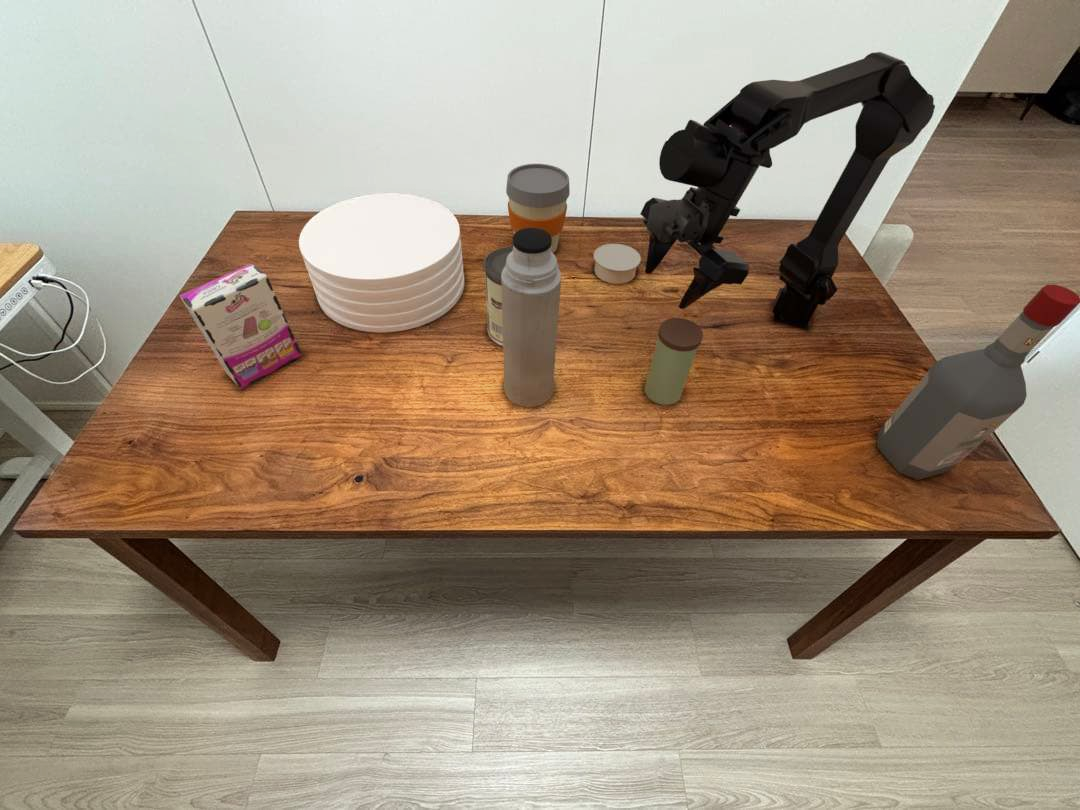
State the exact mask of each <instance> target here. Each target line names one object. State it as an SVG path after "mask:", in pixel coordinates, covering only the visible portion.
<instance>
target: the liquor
mask: <svg viewBox="0 0 1080 810" xmlns="http://www.w3.org/2000/svg"><path fill="white" fill-rule="evenodd" d="M1079 305H1080V296H1079V295H1078V294H1077V293H1076V292H1075V291H1073V290H1072V289H1069V288H1068V287H1065V286H1062V285H1058V284H1046V285H1044V286H1042V287H1041V289H1040V290H1038V292H1037V293H1036V294H1035V295H1034V296H1033V297H1032V298H1031V299H1030V301H1028V303H1027V304H1026V305H1025V306H1024V307H1023V308H1022V312H1021V313H1020V314H1019V315H1018V316H1017V317H1016V318H1015V319H1014V320H1013V321H1012V323H1011V324H1009V326H1008V327H1007V328H1006V329H1005V330H1004V331H1003V332H1002V333H1001V334H1000V335H999V336H998V337H997V338H996V339H995V340H994V341H993V342H992V343H990V344H988V345H986V347H985V348H981V349H976V350H975V349H974V350H971V351H966V352H960V353H957V354H953V355H949V356H944V357H942V358H940V359H938V360H937V361H935V362H934V363H933V364H932V366H931V367H930V368H929V369H928V370H927V372H926V373H925V374H924V375H923V377H922V378H921V379H920V380H919V381H918V383H917V384H916V385H915V386H914V388H913V389H912V390H911V391H910V393H908V395H907V396H906V398H904V400H903V401H902V402H901V403H900V404H899V406H898V407H897V408H896V410H895V411H894V412H893V413H892V414H891V416H889V418H888V419H887V420H886V421H885V423H884V424H883V425H882V426H881V427H880V429H879V430H878V432H877V439H876V448H877V450H879V452H880V453H881V454H882V455H883V457H885V459H886V460H887V461H888V462H889V463H890V464H891V466H892V468H894V469H895V470H896V471H897V472H898V474H901V475H903V476H906V477H909V478H911V479H914V480H916V481H918V480H923V479H926V478H930V477H934V476H937V475H942V474H945V473H949V472H951V471H952V470H954V469H955V468H956V467H957V466H958V465H959V464H960V463H961V462H962V461H964V460H965V459H966V458H967V457H968V456H969V455H971V453H972V452H973V451H975V450H976V448H978V446H980V445H981V444H982V443H983V442H984V441H985V440H986V439H987V438H988V437H990V435H992V434H993V433H994V432H995V431H996V430H997V429H998V428H999V427H1000V426H1001V425H1003V423H1005V422H1006V421H1007V420H1008V419H1009V418H1010V417H1011V416H1013V415H1014V414H1015V413H1016V412H1017V411H1018V410H1019V409H1020V408H1021V407H1023V405H1024V404H1025V401H1026V399H1027V396H1028V395H1027V385H1026V379H1025V376H1024V371H1023V369H1022V364H1023V363H1025V360H1026V357H1027V356H1028V355H1029V354H1030V353H1031V352H1032V350H1033V349H1035V347H1037V345H1039V343H1040V342H1041V341H1042V340H1043V339H1044V338H1045V337H1046V336H1047V335H1048V334H1049V333H1050V332H1052V330H1053V329H1054V328H1055V327H1057V326H1058V325H1060V324H1061V323H1062V322H1063V321H1065V320H1066V318H1067V317H1068V316H1069V315H1070V314H1071V313H1072V312H1073V311H1074V310H1075V309H1076V308H1077V307H1078V306H1079Z"/></svg>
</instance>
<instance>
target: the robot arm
mask: <svg viewBox="0 0 1080 810" xmlns="http://www.w3.org/2000/svg"><path fill="white" fill-rule="evenodd" d="M934 100H935V99H934V96H933V95H932V94H930V93H928V91H927V90H926V89H925V87H923V86H922V84H921V83H920V82H919V81H918V80H917V79H916V78H915V77H914V76H913V74H912V72H911V70H910V67H909V66H908V65H907V64H906V62H905V61H904V60H902V59H899V58H897V57H894V56H892V55H889V54H887V53H884V52H882V51H877V52H870V53H868V54H867V55H866V56H865V57H864V58H861V59H859V60H855V61H853V62H852V61H851V62H850V63H847V64H844V65H841V66H838V67H835V68H832V69H829V70H826V71H823V72H820V73H818V74H814V75H811V76H809V77H806V78H803V79H801V80H791V81H790V80H781V79H767V80H758V81H752V82H750V83H748V84H745V86H743V87H742V88H741V89H740V90H739V93H738V94H736V95H735V96H734V97H733V98H732V99H730V100H729V101H728V102H727V103H726V104H724V106H722V107H721V108H720V109H718V111H716V112H715V113H714V114H712V116H710V117H709V118H708V119H707V120H706V121H704V123H703V124H702V123H700V122H698V121H697V120H693V119H688V121H687V123H686V126H685V127H684V129H679V130H677V131H675V132H674V133H673V134H671V136H669V138H668V139H667V140H665V142H664V144H663V145H662V148H661V150H660V155H659V161H658V162H659V163H658V164H659V165H658V166H659V170H660V174H661V175H662V177H663V178H664V179H665V180H667V181H669V182H674V183H678V184H679V183H680V184H683V185H687V186H690V187H689V189H687V190H686V191H685V193H684V196H682V198H680V199H663V198H659V197H651V198H650V199H649V200H647V201H646V202H645V203H644V205H643V207H642V209H641V211H640V214H639V215H641V216H642V217H643V218H644V219H643V220H642V221H643V225H644V226H645V228H646V230H647V232H648V234H649V240H648V249H647V256H646V262H645V270H644V273H645V274H646V275H651V274H653V272H654V271H655V270H656V269H657V268H658V267H659V265H660V264H661V262H662V261H663V260H664V258H665V257H666V255H668V253H669V251H670V250H671V248H672V247H673V245H674V244H675V243H676V241H678V242H679V243H681V244H682V243H686V244H687V245H689V246H690V247H691V249H693V250H694V251H696V252H697V254H699V256H700V258H699V259H698V266H699V267H697V266H696V267H695V266H694V267H692V269H693V270H692V271H693V278H692V280H691V282H690V284H689V285H688V287H687V288H686V291H685V293H684V294H683V296H682V298H681V300H680V302H679V304H678V309H682V310H684V309H686V308H688V307H689V306H691V305H692V304H694V303H695V302H696V301H698V300H700V299H701V298H702V297H704V296H705V295H707V294H708V293H710V292H711V291H713V290H714V289H715V290H716V289H717V288H719V287H720V286H722V285H742V284H743V283H744V281H745V280H746V278H747V277H748V275H749V272H750V265H749V263H748V262H747V261H745V260H744V259H743V258H742V257H741V256H740V255H738V254H737V253H736V252H734V250H728V249H721V248H716V247H715V246H714V244H718V245H721V243H722V242H723V240H724V236H723V235H722V234H721V232H722V231H723V228H724V227H725V225H726V223H727V222H728V220H729V219H730V216H731V217H738V215H739V213H740V211H741V209H740V208H739V207H737V204H738V203H739V202H740V200H741V198H742V196H743V195H744V193H745V192H746V189H747V188H748V186H749V185H750V183H751V181H752V179H753V178H754V176H755V175H756V173H757V171H758V169H759V167H763V168H767V169H770V168H771V167H772V166H773V159H772V157H771V149H773V148H775V147H779V145H782V144H783V143H785V142H786V141H789V140H791V139H793V138H794V137H796V136H797V135H798V134H799V133H800V131H801V130H802V128H803V127H804V125H805V124H807V123H809V122H810V121H813V120H815V119H818V118H821V117H824V116H827V115H830V114H832V113H835V112H837V111H840V110H844V109H846V108H849V107H852V106H854V105H858V104H860V105H861V106H862V108H861V110H860V113H859V115H858V118H857V119H856V123H855V127H854V128H855V130H854V131H855V132H854V133H855V136H854V137H855V141H854V142H855V148H854V149H853V152H852V154H851V156H850V158H849V159H848V161H847V163H846V164H845V167H844V168H843V170H842V172H841V174H840V176H839V178H838V179H837V181H836V183H835V185H834V187H833V189H832V191H831V192H830V195H829V196H828V198H827V200H826V202H825V204H824V206H823V208H822V209H821V211H820V213H819V215H818V217H817V219H816V220H815V222H814V224H813V225H812V228H811V230H810V231H809V233H808V235H807V236H806V237H804V238H802V239H800V240H799V241H798V242H796V243H790V244H789V245H788V246H787V248H786V251H785V253H784V255H783V256H782V258H781V259H780V260H779V262H778V263H779V267H778V271H779V276H778V277H779V278H778V280H780V281H781V282H783V283H784V286H783V287H780V288H779V289H778V291H777V294H776V296H775V298H774V300H773V301H772V307H771V312H772V314H773V317H772V321H773V322H774V323H777V324H781V325H786V326H790V327H791V326H792V327H796V328H800V329H805V330H809V329H810V327H811V320H812V317H813V316H814V313H815V311H816V310H817V308H818V306H819V305H820V306H824V305H826V302H827V301H829V300H831V299H832V298H833V297H834V295H835V294H836V293H837V291H838V288H837V286H836V283H835V282H834V280H833V277H834V274H835V272H836V270H837V268H838V266H839V245H840V243H841V241H842V240H843V238H844V236H845V235H846V233H847V232H848V230H849V228H850V226H851V224H852V223H853V221H854V219H856V216H857V214H858V213H859V211H860V210H861V208H862V206H863V205H864V203H865V201H866V199H867V198H868V196H869V194H870V193H871V191H872V189H873V188H874V185H875V184H876V183H877V181H878V179H879V177H880V176H881V174H882V172H883V171H884V169H885V167H886V166H887V164H888V162H889V161H890V160H891V158H892V157H893V156H895V155H897V154H898V153H900V152H901V151H902V150H904V149H906V148H907V147H909V146H910V145H912V144H913V143H914V141H915V140H916V139H917V137H918V136H919V134H920V133H921V132H922V130H924V128H925V127H927V126H928V124H929V123H930V121H931V119H932V118H933V116H934V112H935V109H936V105H935V104H934Z"/></svg>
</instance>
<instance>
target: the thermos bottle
mask: <svg viewBox="0 0 1080 810" xmlns="http://www.w3.org/2000/svg"><path fill="white" fill-rule="evenodd" d="M551 245H552V237H551V235H550V234H549V233H548V232H546V231H545V230H542V229H539V228H524V229H521V230H519V231H517V232H516V233H515V234H514V233H513V236H512V246H513V251H512V252H510V254H509V255H508V256H507V260H506V265H505V267H504V269H503V271H502V274H501V285H502V323H503V346H502V353H503V355H502V356H503V357H502V358H503V389H504V394H505V396H506V397H507V400H509V401H510V402H512V403H513V404H515V405H517V406H520V407H526V408H533V407H537V406H541V405H543V404H545V403H546V402H547V401H548V400H549V399H551V397H552V395H553V392H554V383H555V381H554V380H555V368H556V356H557V355H556V353H557V340H558V329H559V327H558V326H559V314H560V303H561V301H560V300H561V287H562V286H561V284H562V272H561V270H560V268H559V263H558V259H557V257H556V255H555V254H554V253H552V252H551Z"/></svg>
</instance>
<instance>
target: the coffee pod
mask: <svg viewBox="0 0 1080 810" xmlns="http://www.w3.org/2000/svg"><path fill="white" fill-rule="evenodd" d="M593 260H594V270H593V271H594V274H595V275H596V276H597V277H598V278H599V280H602V281H603V282H606V283H610V284H617V285H618V284H619V285H621V284H626V283H629V282H631V281H632V280H633V279H634V278H635V276H636V273H637V268H638V266H640V263H641V254H640V253H639V252H638V251H637V250H636V249H635V248H633V247H631V246H629V245H626V244H621V243H607V244H603V245H600V246H598V247H597V248H596V249H595V250H594V252H593Z"/></svg>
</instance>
